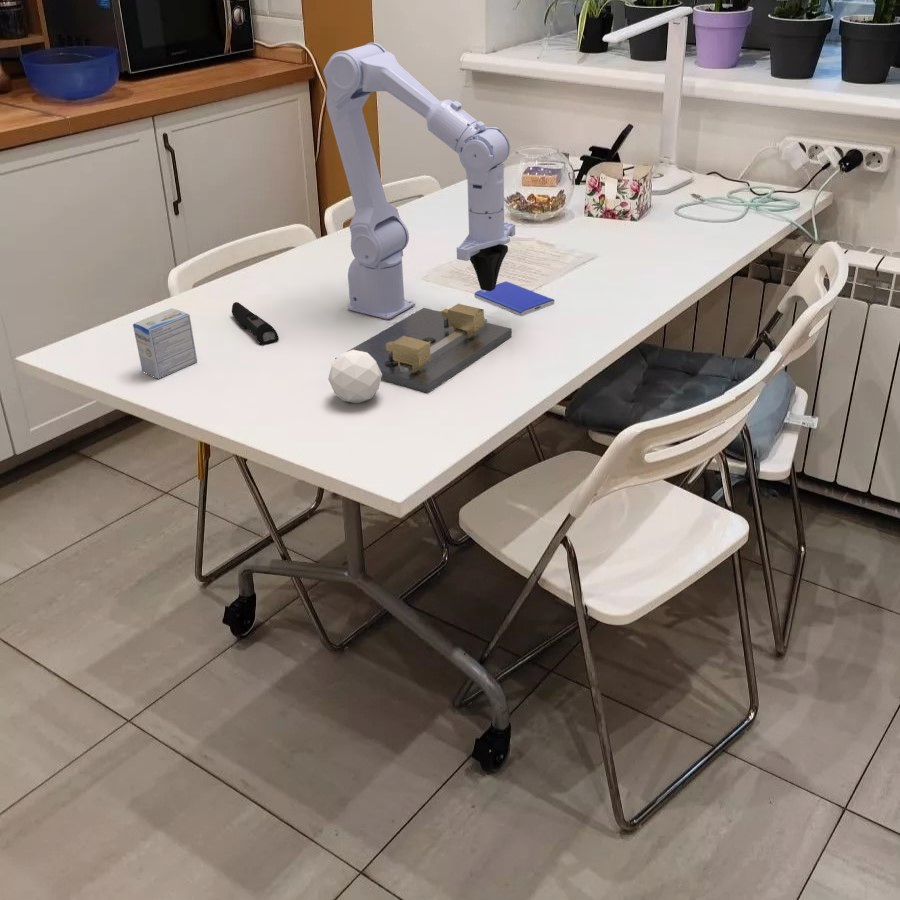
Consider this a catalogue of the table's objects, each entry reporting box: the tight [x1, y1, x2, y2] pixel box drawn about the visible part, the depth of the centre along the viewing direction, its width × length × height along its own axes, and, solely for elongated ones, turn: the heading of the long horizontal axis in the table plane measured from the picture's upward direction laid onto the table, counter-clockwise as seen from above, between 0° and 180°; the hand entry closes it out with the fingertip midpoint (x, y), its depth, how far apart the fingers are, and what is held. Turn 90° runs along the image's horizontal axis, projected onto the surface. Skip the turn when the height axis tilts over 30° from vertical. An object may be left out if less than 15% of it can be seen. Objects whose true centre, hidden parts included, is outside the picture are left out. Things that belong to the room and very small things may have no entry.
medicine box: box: [132, 307, 198, 380], centre depth 165 cm, size 8×4×9 cm, turn 141°
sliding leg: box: [440, 303, 485, 338], centre depth 170 cm, size 7×3×4 cm, turn 55°
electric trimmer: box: [231, 301, 280, 346], centre depth 179 cm, size 4×15×3 cm, turn 31°
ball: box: [327, 350, 382, 404], centre depth 154 cm, size 8×8×8 cm
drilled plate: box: [334, 307, 513, 394], centre depth 168 cm, size 18×24×6 cm
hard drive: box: [473, 280, 555, 317], centre depth 187 cm, size 2×8×12 cm
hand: (487, 289), depth 173 cm, fingers closed
